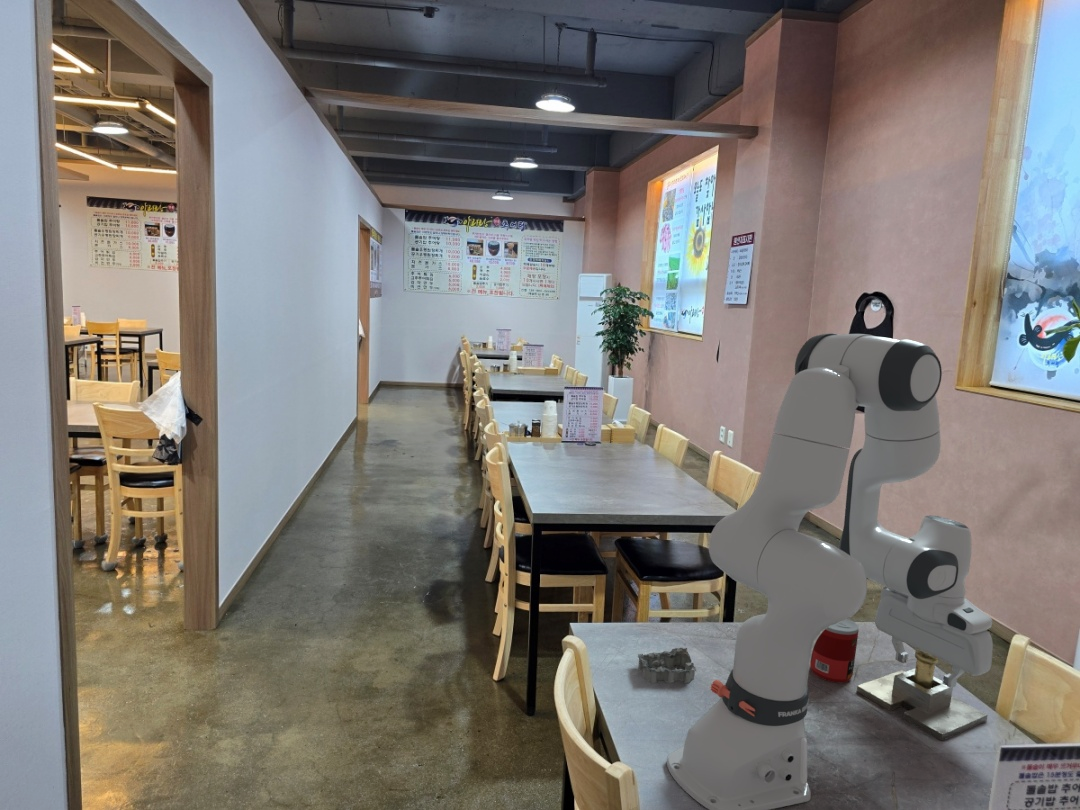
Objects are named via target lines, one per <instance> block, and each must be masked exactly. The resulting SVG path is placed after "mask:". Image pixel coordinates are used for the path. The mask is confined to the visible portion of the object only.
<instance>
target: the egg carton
mask: <svg viewBox="0 0 1080 810" xmlns="http://www.w3.org/2000/svg"><path fill="white" fill-rule="evenodd" d="M636 655H637V658H638V665H637V666H638V671H641V672H642V676H641V678H642V680H643V681H648V682H649V683H650V684H656V683H657V681H659V680H660V681H665V682H666V683H668V684H673V683H674V681H677V680H679V681H682V682H684V683H685V684H691V681H692V680H694V679H695V672H697V668H696V666H695V665H694V662H692V659H691V655H690V653H689V651H688V648H687V647H684V648H683V647H678V648H677V647H676V648H672V649H671V651H667V650H664V651H662V652H650V653H646V654H645V653H644V654H643V653H637V654H636ZM676 666H680V667H683V668H684V669H683V668H679V669H677V667H676ZM674 667H675V668H674ZM671 668H674V669H671Z"/></svg>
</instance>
